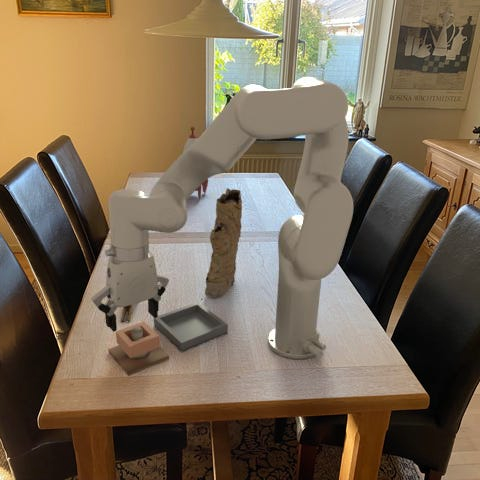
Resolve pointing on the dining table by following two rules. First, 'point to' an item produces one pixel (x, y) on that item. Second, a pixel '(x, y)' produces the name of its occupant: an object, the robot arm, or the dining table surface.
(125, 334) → the ring
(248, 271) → the dining table surface
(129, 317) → the figurine
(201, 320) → the tray
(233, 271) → the tan log
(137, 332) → the brown piece
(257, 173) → the dining table surface
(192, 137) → the toy
